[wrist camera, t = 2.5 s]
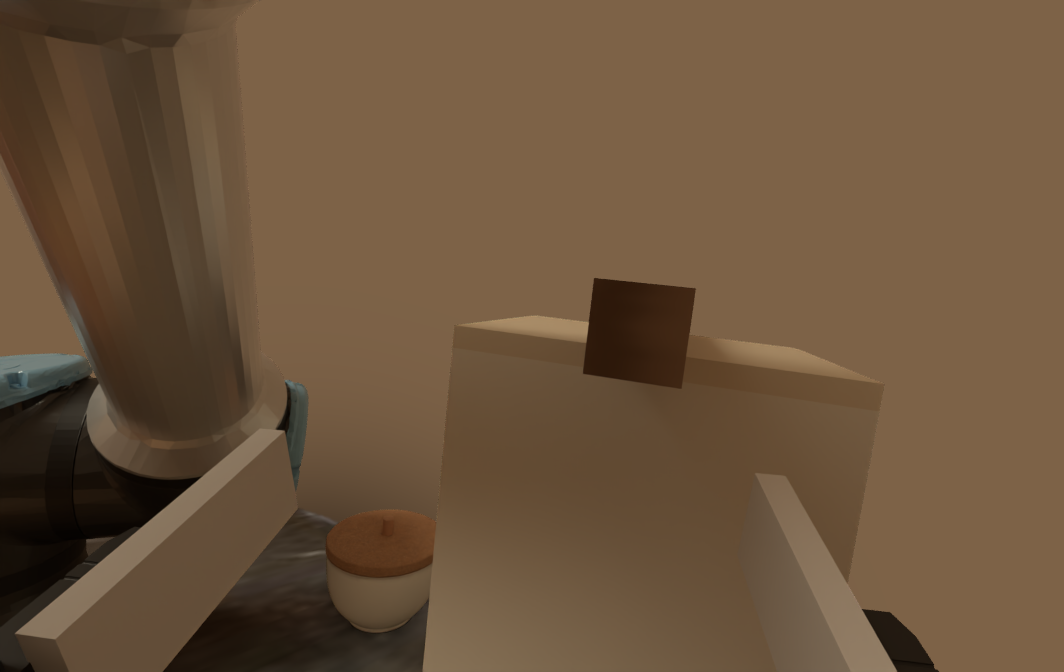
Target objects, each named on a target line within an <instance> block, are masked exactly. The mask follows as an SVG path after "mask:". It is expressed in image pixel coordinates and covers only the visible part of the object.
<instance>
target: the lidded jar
mask: <svg viewBox="0 0 1064 672" xmlns="http://www.w3.org/2000/svg"><path fill="white" fill-rule="evenodd" d="M435 531H436V522H435V521H434V520H432V519H431V518H429V517H427V516H424V515H422V514H419V513H415V512H411V511H405V510H375V511H369V512H365V513H360V514H357V515H354V516H351V517H349V518H346V519H345V520H343V521H341V522H340V523H338V524H337V525H336V526H334V528H333V529H332V530H331V531H330V532H329V534H328V536H327V539H326V578H327V586H328V591H329V595H330V597H331V600H332V602H333V604H334V606H335V607H336V609H337V610H338V612H339V613H340V614H341V615H342V616H343V617H344V618H346V619H347V620H348V621H349V622H350V623H351V625H352V626H354V627H355V628H357V629H359V630H361V631H364V632H369V633H383V632H389V631H392V630H395V629H397V628H399V627H401V626H403V625H404V624H405V623H407V622H408V621H409V620H410V618H411V617H412V616H413V615H415V614H416V613H417V612H418V611H419V610H420V609H421V608H422V607H423V606H424V604H425V603H426V602H427V600H428V599H429V596H430V585H431V574H432V563H433V553H434V542H435Z"/></svg>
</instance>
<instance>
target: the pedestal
mask: <svg viewBox="0 0 1064 672" xmlns="http://www.w3.org/2000/svg"><path fill="white" fill-rule="evenodd" d="M588 325H589V322H582V321H575V320H567V319H559V318H551V317H543V316H526V317H517V318H509V319H501V320H493V321H485V322H476V323H468V324H460V325H455V326H454V336H453V346H452V357H451V368H450V379H449V390H448V401H447V411H446V423H445V433H444V444H443V456H442V466H441V476H440V487H439V499H438V509H437V520H436V531H435V542H434V553H433V563H432V574H431V585H430V596H429V607H428V618H427V629H426V639H425V650H424V661H423V672H777V670H776V667H775V664H774V661H773V658H772V655H771V652H770V649H769V646H768V643H767V640H766V637H765V635H764V632H763V629H762V626H761V623H760V620H759V617H758V614H757V611H756V608H755V605H754V602H753V599H752V597H751V594H750V591H749V588H748V585H747V582H746V579H745V576H744V573H743V570H742V567H741V564H740V561H739V559H738V556H737V554H738V549H739V544H740V540H741V535H742V531H743V526H744V521H745V517H746V512H747V508H748V503H749V498H750V494H751V489H752V485H753V480H754V475H755V473H760V474H771V475H782V476H786V478H787V479H788V481H789V483H790V485H791V486H792V488H793V490H794V492H795V493H796V495H797V497H798V499H799V500H800V502H801V504H802V506H803V507H804V509H805V511H806V513H807V514H808V516H809V518H810V520H811V521H812V523H813V525H814V527H815V528H816V530H817V532H818V534H819V535H820V537H821V539H822V541H823V542H824V544H825V546H826V548H827V549H828V551H829V553H830V555H831V556H832V558H833V560H834V562H835V563H836V565H837V567H838V569H839V570H840V572H841V574H842V576H843V577H844V579H845V581H846V583H847V584H848V579H849V574H850V569H851V563H852V558H853V552H854V546H855V542H856V536H857V531H858V525H859V519H860V514H861V509H862V504H863V498H864V493H865V487H866V482H867V476H868V470H869V466H870V460H871V455H872V449H873V444H874V438H875V432H876V427H877V422H878V417H879V411H880V405H881V400H882V395H883V390H884V384H883V383H881V382H878V381H876V380H873V379H871V378H868V377H866V376H863V375H861V374H858V373H856V372H854V371H851V370H849V369H846V368H843V367H841V366H839V365H836V364H834V363H831V362H829V361H826V360H824V359H821V358H819V357H816V356H814V355H811V354H809V353H807V352H804V351H802V350H799V349H797V348H789V347H782V346H774V345H766V344H758V343H750V342H742V341H734V340H726V339H718V338H710V337H703V336H695V335H689V340H688V347H687V354H686V361H685V368H684V375H683V382H682V389H678V388H672V387H665V386H659V385H652V384H646V383H639V382H633V381H626V380H620V379H613V378H606V377H600V376H593V375H587V374H583V367H584V358H585V350H586V342H587V333H588Z"/></svg>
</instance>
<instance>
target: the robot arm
mask: <svg viewBox="0 0 1064 672" xmlns="http://www.w3.org/2000/svg"><path fill="white" fill-rule="evenodd" d="M258 1H260V0H0V171H1V173H2V175H3V178H4V180H5V182H6V183H7V186H8V188H9V190H10V193H11V194H12V197H13V199H14V201H15V203H16V206H17V208H18V210H19V212H20V214H21V216H22V218H23V221H24V223H25V225H26V227H27V229H28V231H29V233H30V236H31V238H32V240H33V242H34V244H35V246H36V248H37V251H38V253H39V255H40V257H41V259H42V261H43V264H44V266H45V268H46V270H47V272H48V274H49V277H50V279H51V280H52V283H53V285H54V287H55V289H56V292H57V294H58V296H59V298H60V300H61V302H62V305H63V307H64V309H65V311H66V313H67V315H68V317H69V319H70V322H71V324H72V326H73V328H74V330H75V333H76V335H77V337H78V339H79V341H80V343H81V345H82V348H83V350H84V352H85V354H86V356H87V358H88V360H87V359H86V358H84V357H83V356H79V355H67V354H32V355H16V356H4V357H0V672H163V671H164V669H165V668H166V667H167V666H168V665H169V663H170V662H171V661H172V660H173V659H174V657H175V656H176V655H177V654H178V653H179V651H180V650H181V649H182V648H183V647H184V645H185V644H186V643H187V642H188V641H189V639H190V638H191V637H192V636H193V634H194V633H195V632H196V631H197V630H198V628H199V627H200V626H201V625H202V624H203V622H204V621H205V620H206V619H207V618H208V616H209V615H210V614H211V613H212V612H213V610H214V609H215V608H216V607H217V605H218V604H219V603H220V602H221V601H222V599H223V598H224V597H225V596H226V595H227V593H228V592H229V591H230V590H231V589H232V587H233V586H234V585H235V584H236V583H237V581H238V580H239V579H240V578H241V576H242V575H243V574H244V573H245V572H246V570H247V569H248V568H249V567H250V566H251V564H252V563H253V562H254V561H255V560H256V558H257V557H258V556H259V555H260V554H261V552H262V551H263V550H264V549H265V547H266V546H267V545H268V544H269V543H270V541H271V540H272V539H273V538H274V537H275V535H276V534H277V533H278V532H279V531H280V529H281V528H282V527H283V526H284V525H285V523H286V522H287V521H288V520H289V518H290V517H291V516H292V515H293V514H294V512H295V511H296V510H297V509H298V504H297V498H296V489H297V485H298V479H299V467H300V466H301V460H302V456H303V451H304V444H305V436H306V427H307V417H308V393H307V390H306V388H305V387H304V386H303V385H302V384H299V383H294V382H291V381H290V380H284V377H283V375H282V373H281V371H280V369H279V368H278V367H277V365H276V364H275V363H274V362H273V361H272V360H271V359H270V358H269V357H268V356H267V355H265V354H264V353H263V352H261V349H260V336H259V324H258V323H259V322H258V309H257V296H256V284H255V271H254V257H253V245H252V233H251V218H250V205H249V192H248V180H247V166H246V153H245V141H244V127H243V115H242V102H241V88H240V75H239V62H238V49H237V36H236V20H237V18H238V16H240V15H241V14H243V13H244V12H245V11H247V10H248V9H249V8H251V7H252V6H253V5H254V4H256V3H257V2H258ZM88 361H89V362H88ZM89 363H90V365H91V367H90V365H89ZM92 370H93V371H94V373H95V376H96V378H92V377H91V376H90V374H91V373H92ZM105 537H115V538H113V539H111V540H109V541H107V542H106V543H105V544H103V545H102V546H101V547H100V548H98V549H97V550H96V551H95V552H93V553H92V554H91V555H90V556H88V554H87V551H86V539H94V538H105ZM737 556H738V559H739V561H740V564H741V567H742V570H743V573H744V576H745V579H746V582H747V585H748V588H749V591H750V594H751V597H752V599H753V602H754V605H755V608H756V611H757V614H758V617H759V620H760V623H761V626H762V629H763V632H764V635H765V637H766V640H767V643H768V646H769V649H770V652H771V655H772V658H773V661H774V664H775V667H776V670H777V672H939V671H938V670H935V668H934V664H933V662H932V661H931V659H930V658H929V656H928V654H927V653H926V651H925V650H924V648H923V647H922V645H921V644H920V642H919V641H918V639H917V638H916V636H915V635H914V634H912V633H911V632H910V631H909V630H908V629H907V628H906V627H905V626H904V625H903V624H902V623H901V622H900V621H899V620H897V618H895V617H894V616H893V615H892V614H891V613H890V612H882V611H874V610H864V609H861V607H860V605H859V604H858V602H857V600H856V598H855V597H854V595H853V593H852V591H851V590H850V588H849V586H848V584H847V583H846V581H845V579H844V577H843V576H842V574H841V572H840V570H839V569H838V567H837V565H836V563H835V562H834V560H833V558H832V556H831V555H830V553H829V551H828V549H827V548H826V546H825V544H824V542H823V541H822V539H821V537H820V535H819V534H818V532H817V530H816V528H815V527H814V525H813V523H812V521H811V520H810V518H809V516H808V514H807V513H806V511H805V509H804V507H803V506H802V504H801V502H800V500H799V499H798V497H797V495H796V493H795V492H794V490H793V488H792V486H791V485H790V483H789V481H788V479H787V478H786V476H782V475H771V474H760V473H755V475H754V480H753V485H752V489H751V494H750V498H749V503H748V508H747V512H746V517H745V521H744V526H743V531H742V535H741V540H740V544H739V549H738V554H737Z"/></svg>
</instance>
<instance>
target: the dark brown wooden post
mask: <svg viewBox="0 0 1064 672" xmlns="http://www.w3.org/2000/svg"><path fill="white" fill-rule="evenodd" d="M695 290H696V289H695V288H685V287H676V286H665V285H657V284H647V283H637V282H626V281H617V280H608V279H598V278H594V284H593V292H592V300H591V309H590V317H589V325H588V333H587V342H586V350H585V358H584V367H583V374H587V375H593V376H600V377H606V378H613V379H620V380H626V381H633V382H639V383H646V384H652V385H659V386H665V387H672V388H678V389H682V382H683V375H684V368H685V361H686V354H687V347H688V340H689V333H690V326H691V319H692V311H693V305H694V297H695Z"/></svg>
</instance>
